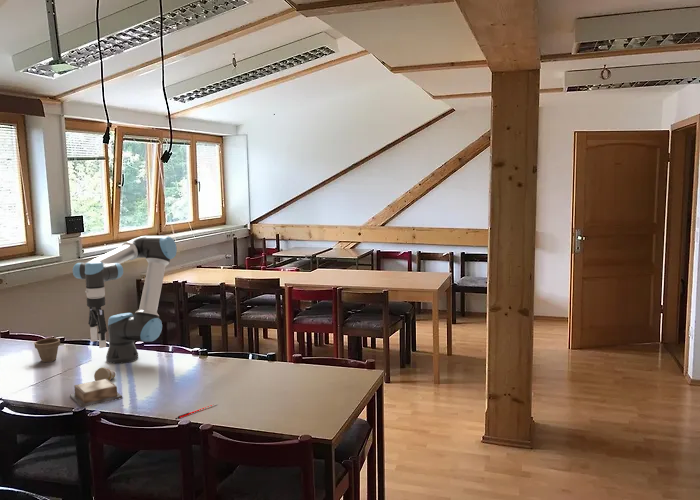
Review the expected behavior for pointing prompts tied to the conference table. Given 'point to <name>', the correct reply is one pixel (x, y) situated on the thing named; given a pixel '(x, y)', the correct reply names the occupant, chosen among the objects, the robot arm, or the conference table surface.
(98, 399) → the plinth
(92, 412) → the conference table surface
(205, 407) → the pen
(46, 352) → the flower pot
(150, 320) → the robot arm
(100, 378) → the beige stepped cylinder
